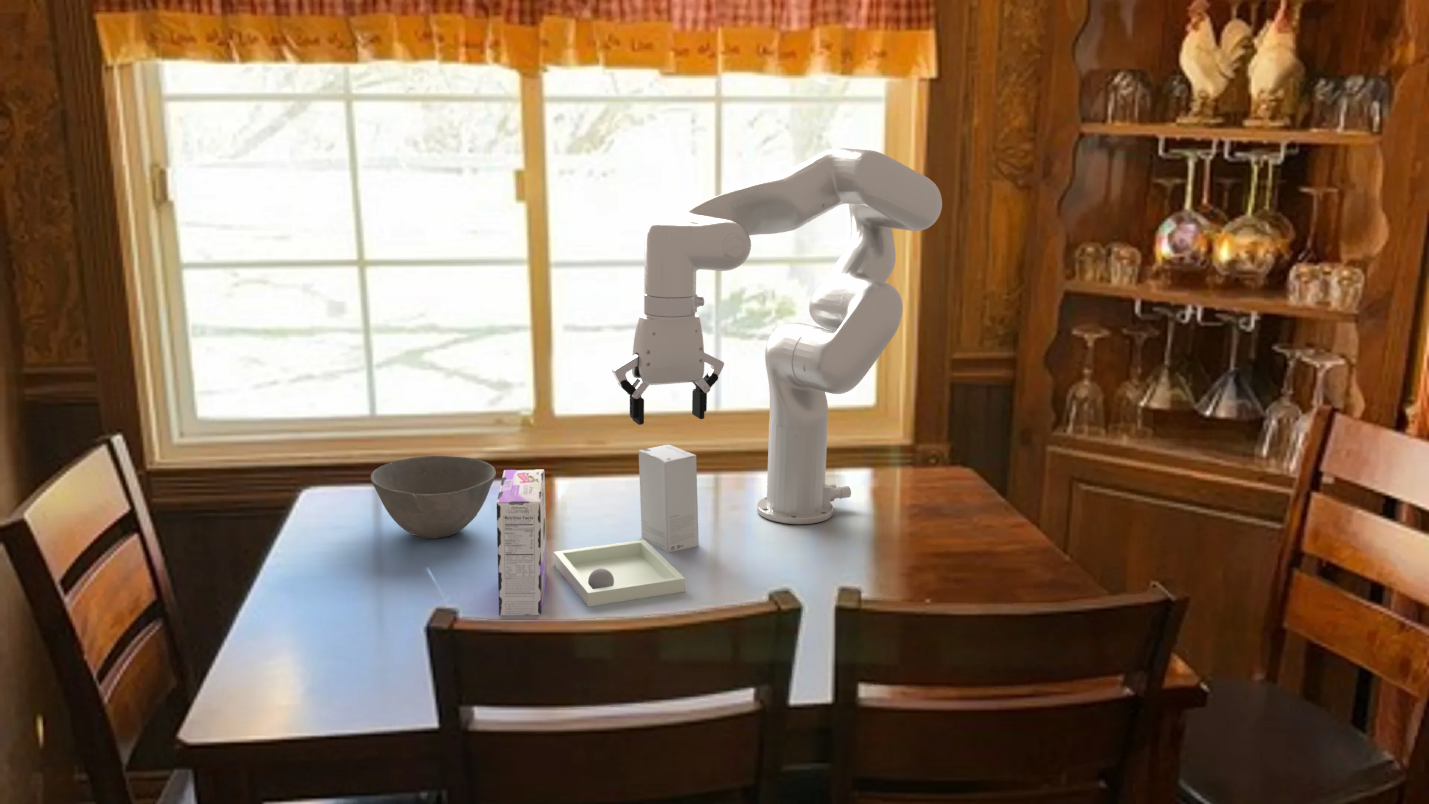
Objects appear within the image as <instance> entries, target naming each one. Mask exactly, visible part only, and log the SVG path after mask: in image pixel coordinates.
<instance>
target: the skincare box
mask: <svg viewBox="0 0 1429 804" xmlns="http://www.w3.org/2000/svg"><path fill="white" fill-rule="evenodd" d="M638 468H639V469H638V470H639V473H638V474H639V497H640V498H639V499H640V500H639V503H640V527H641V537H642V539H643V540H644V539H645V540H646V541H647V542H648V543H649V544H652V545H653V546H655V547H657V548H659V549H661V550H663V551H664V552H666V553H671V552H676V551H677V552H678V551H681V550H685V549H690V548H694V547H699V510H698V509H699V508H698V507H699V505H698V479H697V478H698V475H697V454H694V453H692V452H689V451H686V450H684V449H682V448H679V447H677V446H674V445H671V443H670V444H663V445H659V446H655V447H654V446H653V447H649V448H644V449H639V450H638Z"/></svg>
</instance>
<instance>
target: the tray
mask: <svg viewBox="0 0 1429 804" xmlns="http://www.w3.org/2000/svg"><path fill="white" fill-rule="evenodd" d="M553 565H554V566H555V567H556V569H557V571H558V572H560V574H561V575H562V576H563V577H564V579H565V580H566V581H567V583H568V584H569V585H570V586H571V588H573V590H574V591H575V592H576V594H577V595H578V596H579V597H580V599H582V601H583V603H584V604H585V605H586V606H587V607H594V606H595V607H596V606H601V605H607V604H614V603H619V602H620V603H621V602H626V601H634V600H640V599H646V598H652V597H659V596H665V595H670V594H671V595H672V594H677V593H685V592H686V577H684V575H682V573H681V572H680V571H679V570H677V569H676V568H675V567H674V566H673V565H672V564H671V563H670V562H669V561H668V560H667V559H666V558H665V557H664V556H662V555H661V553H659V552H658V550H656V549H655V548H654V547H653V546H652V545H651V543H650V542H649V541H647V540H645V539H644V538H643V539H639V540H638V539H637V540H630V541H624V542H617V543H608V544H603V545H593V546H587V547H577V548H571V549H565V550H564V549H563V550H558V551H553ZM600 568H602V569H606V570H608V571H610V572H611V574H612V575H613V578H614V585H613V586H611V587H604V588H598V589H592V588H591V586H590V585H589V584H588V579H589V576H590V574H591V573H592V572H593V571H594V570H596V569H600Z"/></svg>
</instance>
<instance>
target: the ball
mask: <svg viewBox="0 0 1429 804" xmlns="http://www.w3.org/2000/svg"><path fill="white" fill-rule="evenodd" d="M588 584H589V585H590V586H591V588H592V589H598V588H604V587H611V586H613V585H614V578H613V575H612V574H611V572H610V571H608V570H606V569H602V568H600V569H596V570H594V571H593V572H592V573H591V574H590V576H589V579H588Z"/></svg>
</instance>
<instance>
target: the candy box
mask: <svg viewBox="0 0 1429 804" xmlns="http://www.w3.org/2000/svg"><path fill="white" fill-rule="evenodd" d="M545 476H546V475H545V469H540V468H539V469H533V468H532V469H529V468H528V469H504V470H503V473H502V477H501V483H500V485H499V486H500V487H499V491H498V495H497V500H496V532H497V535H496V538H497V542H496V543H497V545H496V546H497V575H498V576H497V584H498V587H497V589H498V591H497V593H498V615H499V616H538V615H542V614H543V613H542V612H543V605H544V599H545V591H546V581H547V576H548V574H547V573H548V572H547V570H548V569H547V568H548V566H547V563H548V562H547V560H548V559H547V524H546V523H547V517H546V514H547V512H546V508H547V507H546V480H545V479H546V478H545Z"/></svg>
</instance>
